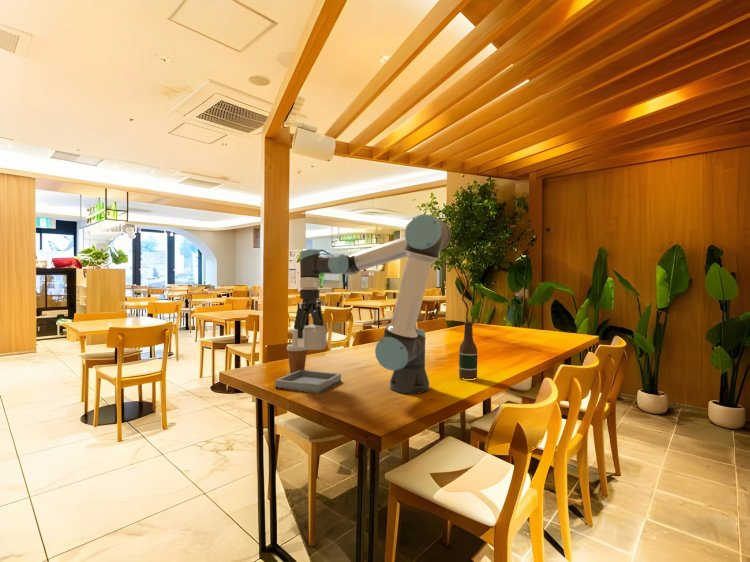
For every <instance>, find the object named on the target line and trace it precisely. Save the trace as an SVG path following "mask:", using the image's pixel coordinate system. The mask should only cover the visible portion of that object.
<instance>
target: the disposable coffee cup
mask: <svg viewBox="0 0 750 562" xmlns="http://www.w3.org/2000/svg"><path fill="white" fill-rule="evenodd" d="M286 350H287V357H288V366H289V372H290V373H294V372H296V371H299V370H305V368H306V360H307V352H308V350H301V349H294V348H292V343H289V344H287V346H286Z"/></svg>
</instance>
